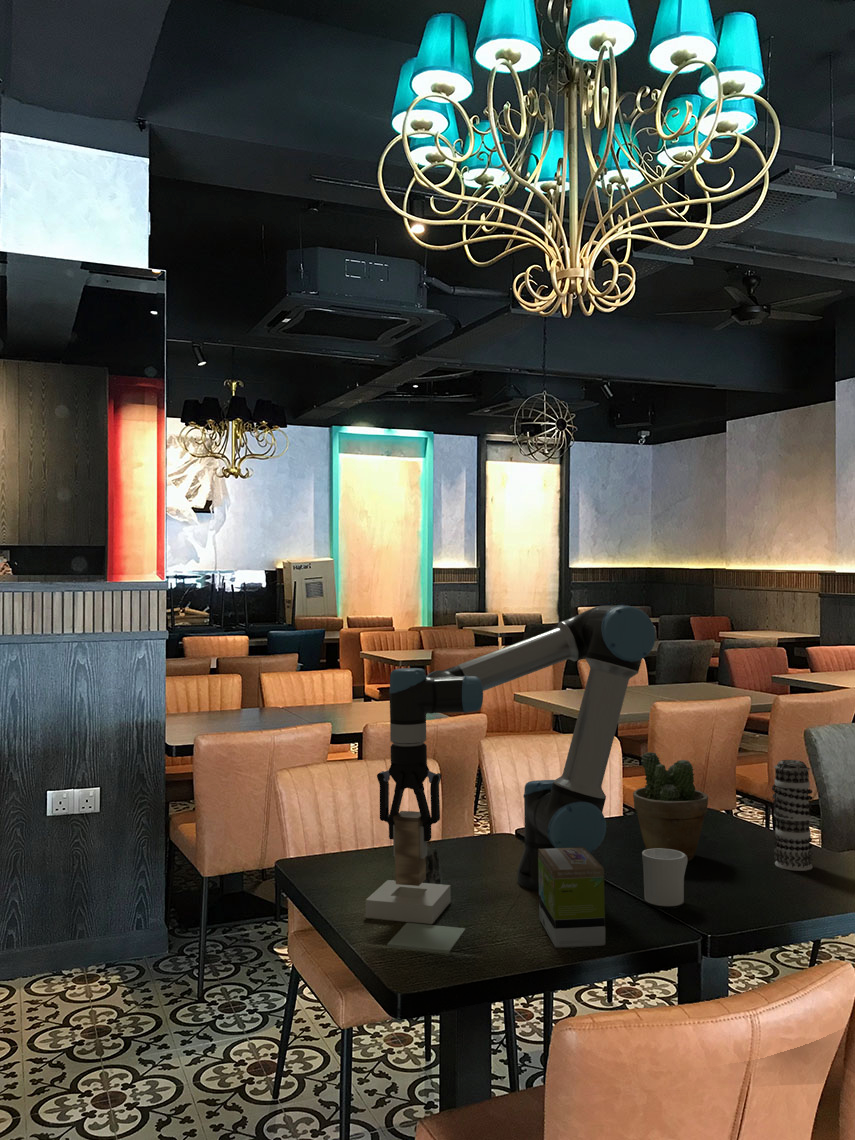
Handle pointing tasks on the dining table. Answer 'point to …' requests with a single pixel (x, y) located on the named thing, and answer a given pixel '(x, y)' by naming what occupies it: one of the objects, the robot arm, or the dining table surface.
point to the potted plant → (670, 806)
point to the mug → (664, 877)
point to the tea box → (571, 897)
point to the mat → (426, 938)
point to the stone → (433, 867)
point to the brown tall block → (408, 849)
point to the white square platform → (408, 902)
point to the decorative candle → (792, 816)
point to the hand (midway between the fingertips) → (410, 855)
